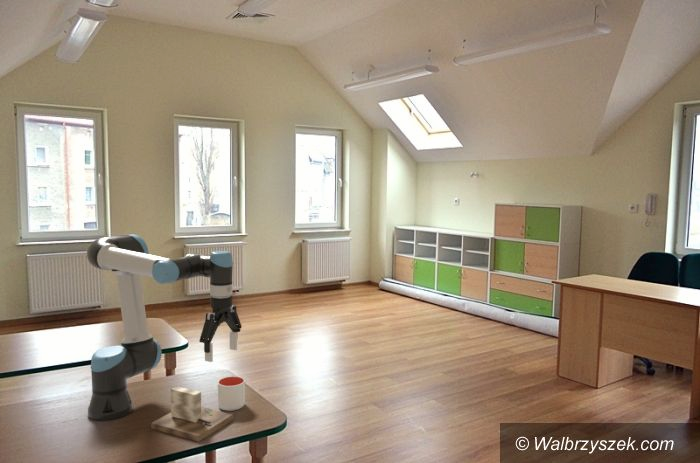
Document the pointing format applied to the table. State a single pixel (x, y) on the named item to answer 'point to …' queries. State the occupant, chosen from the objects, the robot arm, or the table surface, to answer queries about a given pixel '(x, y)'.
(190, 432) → the board
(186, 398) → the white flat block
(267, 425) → the table surface
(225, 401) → the cup
